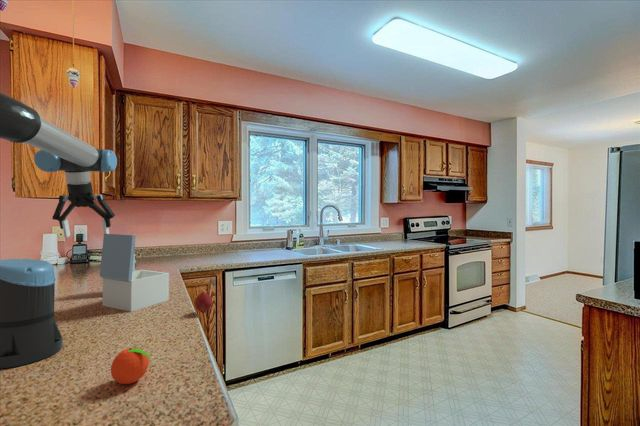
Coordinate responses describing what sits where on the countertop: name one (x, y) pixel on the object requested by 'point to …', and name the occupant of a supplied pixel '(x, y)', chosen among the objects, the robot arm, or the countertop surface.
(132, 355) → the clementine
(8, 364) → the robot arm
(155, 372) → the countertop surface
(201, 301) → the onion
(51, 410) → the countertop surface
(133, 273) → the storage box
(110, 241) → the lid
